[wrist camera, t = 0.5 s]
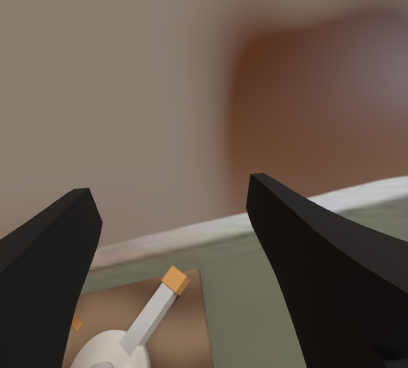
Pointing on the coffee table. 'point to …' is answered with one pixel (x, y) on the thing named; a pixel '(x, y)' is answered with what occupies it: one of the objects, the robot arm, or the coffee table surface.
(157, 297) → the white handled piece
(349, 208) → the coffee table surface
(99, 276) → the coffee table surface
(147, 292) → the post board
